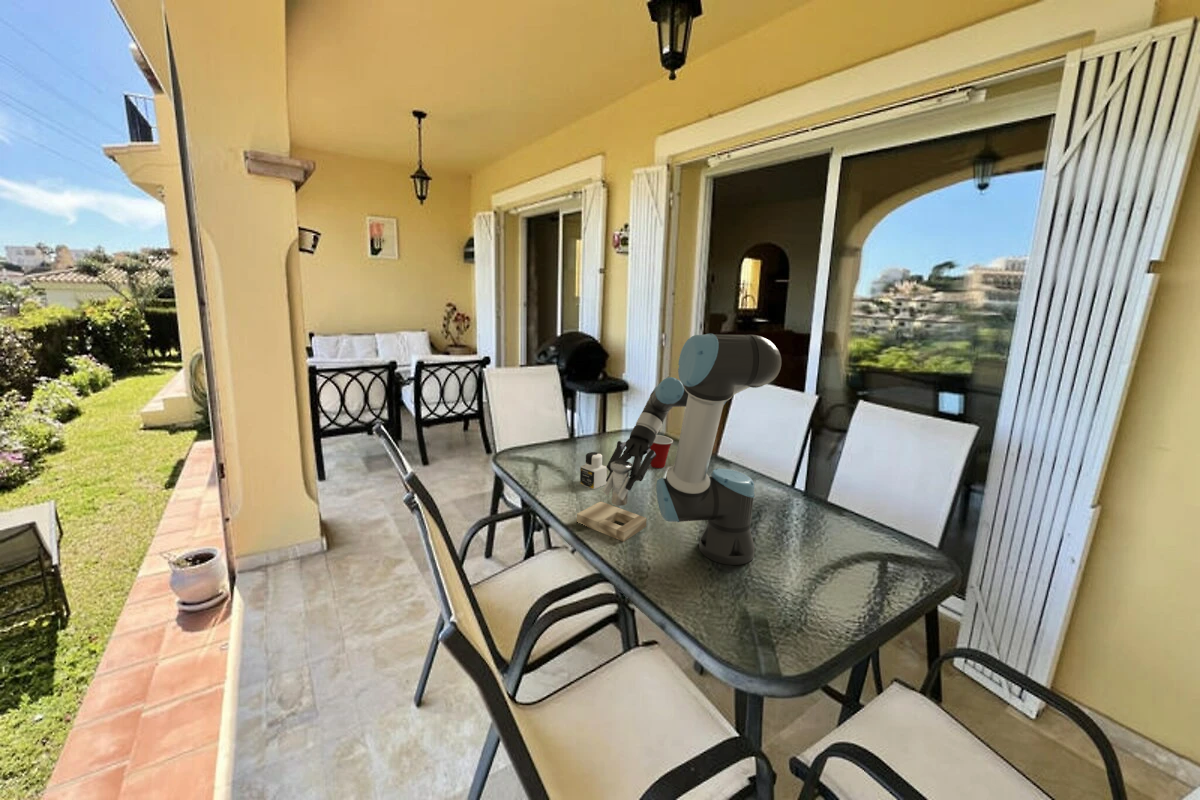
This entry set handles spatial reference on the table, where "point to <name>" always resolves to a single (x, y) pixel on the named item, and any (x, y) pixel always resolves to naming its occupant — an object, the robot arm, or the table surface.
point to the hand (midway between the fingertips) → (612, 495)
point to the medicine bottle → (593, 471)
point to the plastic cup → (660, 450)
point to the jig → (611, 520)
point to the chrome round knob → (619, 480)
